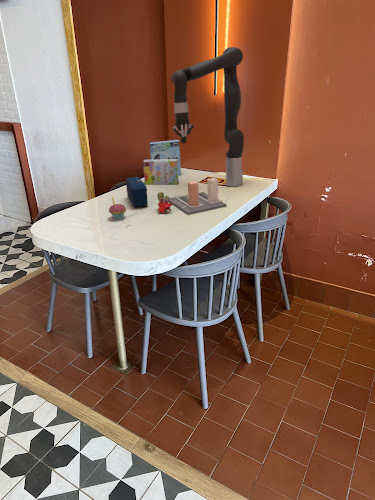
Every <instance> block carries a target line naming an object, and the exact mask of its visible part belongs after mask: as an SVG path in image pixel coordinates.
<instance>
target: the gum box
mask: <svg viewBox="0 0 375 500" xmlns="http://www.w3.org/2000/svg"><path fill="white" fill-rule="evenodd" d="M148 144H149V156H150V160H157V159H177V161H178V176H181V175H182V171H181V170H182V167H181V152H180V149H181V148H180V140H178V139H174V140H171V139H170V140H163V141H152V142H149V143H148Z"/></svg>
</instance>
